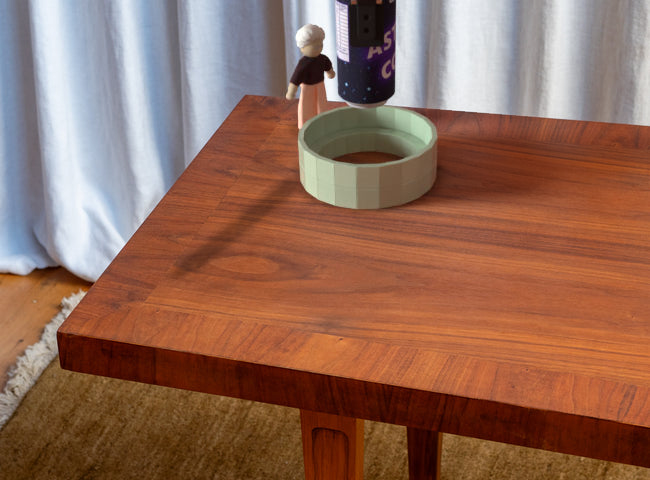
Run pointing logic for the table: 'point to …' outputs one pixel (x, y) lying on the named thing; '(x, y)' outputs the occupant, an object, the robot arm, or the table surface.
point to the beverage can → (365, 61)
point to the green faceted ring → (368, 135)
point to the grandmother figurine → (310, 74)
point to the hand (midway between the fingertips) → (366, 31)
